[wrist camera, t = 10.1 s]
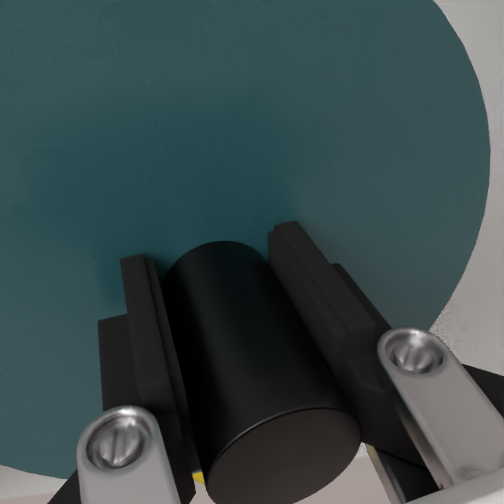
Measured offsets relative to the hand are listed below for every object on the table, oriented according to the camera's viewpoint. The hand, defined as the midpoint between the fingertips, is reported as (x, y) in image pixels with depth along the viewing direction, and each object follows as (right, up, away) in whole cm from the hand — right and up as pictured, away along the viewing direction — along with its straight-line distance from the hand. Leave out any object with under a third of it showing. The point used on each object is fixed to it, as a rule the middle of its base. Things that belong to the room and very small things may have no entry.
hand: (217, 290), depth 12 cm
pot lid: (0, 0, +1) cm, 1 cm away
